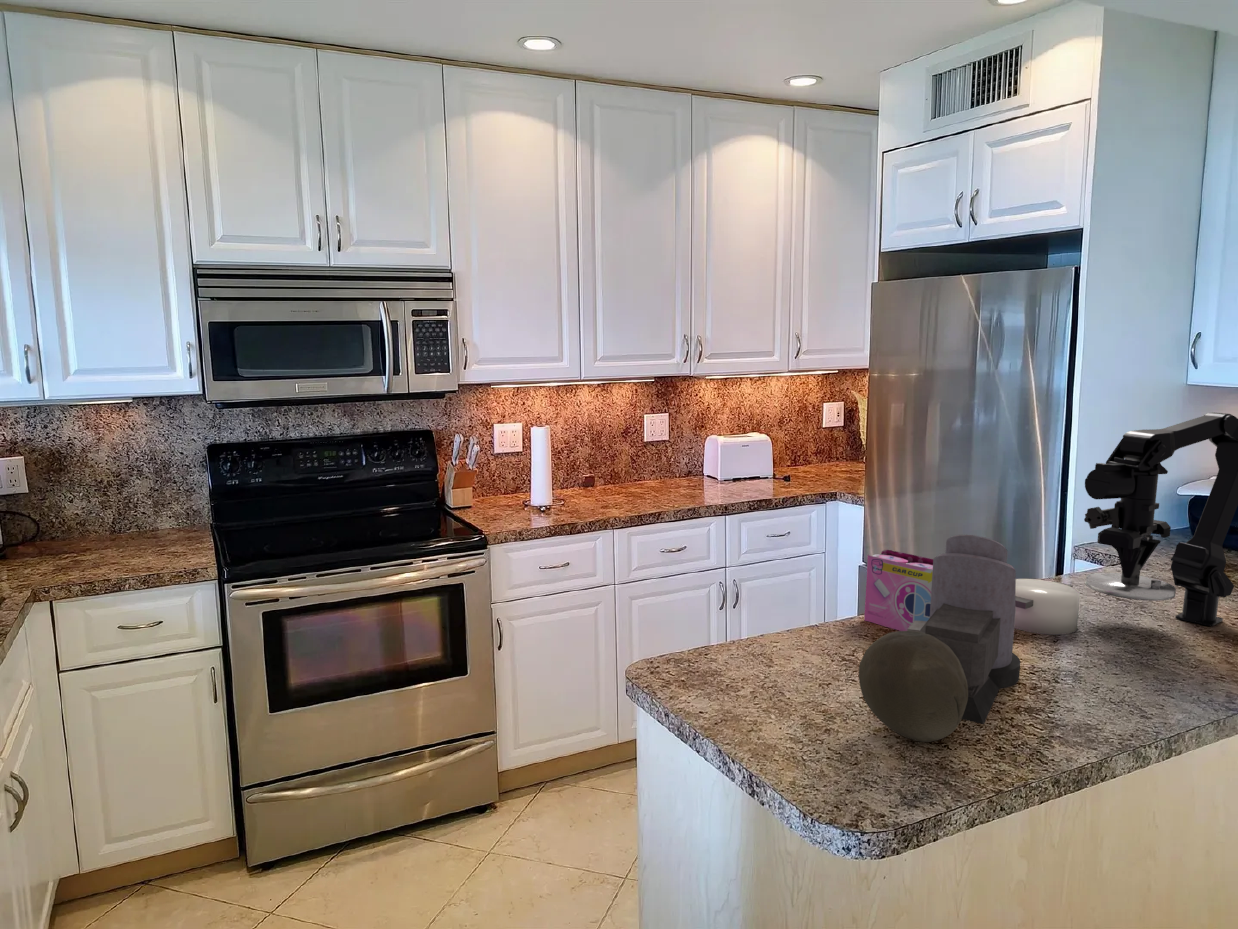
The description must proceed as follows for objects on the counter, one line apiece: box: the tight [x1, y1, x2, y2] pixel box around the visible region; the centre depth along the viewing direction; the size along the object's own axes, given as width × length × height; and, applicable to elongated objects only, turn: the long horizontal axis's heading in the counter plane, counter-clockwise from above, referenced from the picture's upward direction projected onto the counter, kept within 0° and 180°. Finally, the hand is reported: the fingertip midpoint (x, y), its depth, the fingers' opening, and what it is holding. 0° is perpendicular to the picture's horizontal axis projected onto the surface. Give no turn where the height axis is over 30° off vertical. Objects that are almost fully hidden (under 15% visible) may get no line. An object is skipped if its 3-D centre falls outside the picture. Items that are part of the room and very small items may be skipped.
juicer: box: [907, 534, 1021, 725], centre depth 137 cm, size 30×16×24 cm, turn 148°
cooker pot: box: [1014, 578, 1081, 636], centre depth 168 cm, size 19×14×7 cm
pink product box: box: [863, 549, 934, 631], centre depth 163 cm, size 24×8×14 cm, turn 41°
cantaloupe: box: [858, 630, 968, 743], centre depth 118 cm, size 14×14×15 cm
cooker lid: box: [1085, 563, 1177, 602], centre depth 164 cm, size 15×15×5 cm
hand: (1130, 576), depth 164 cm, fingers closed on cooker lid, 3 cm apart
